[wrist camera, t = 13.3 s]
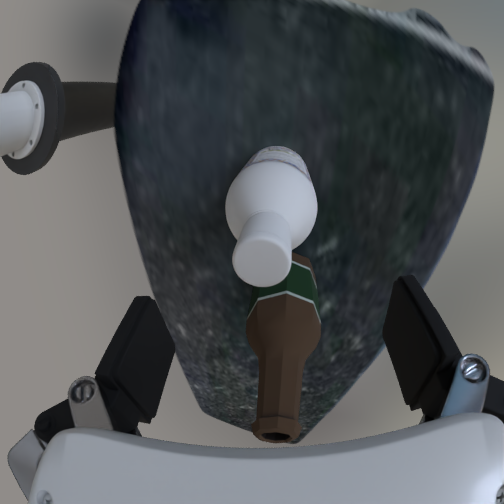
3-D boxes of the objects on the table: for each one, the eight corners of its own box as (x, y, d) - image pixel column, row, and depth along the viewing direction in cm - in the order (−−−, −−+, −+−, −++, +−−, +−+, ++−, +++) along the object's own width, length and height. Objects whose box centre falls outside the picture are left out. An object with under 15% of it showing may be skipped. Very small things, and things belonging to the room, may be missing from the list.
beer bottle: (288, 230, 34) (281, 406, 14) (325, 268, 36) (347, 437, 16) (246, 264, 38) (202, 429, 17) (283, 298, 40) (271, 457, 19)
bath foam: (240, 152, 30) (171, 214, 12) (299, 138, 28) (320, 180, 11) (256, 206, 33) (218, 323, 15) (312, 195, 31) (339, 307, 14)
